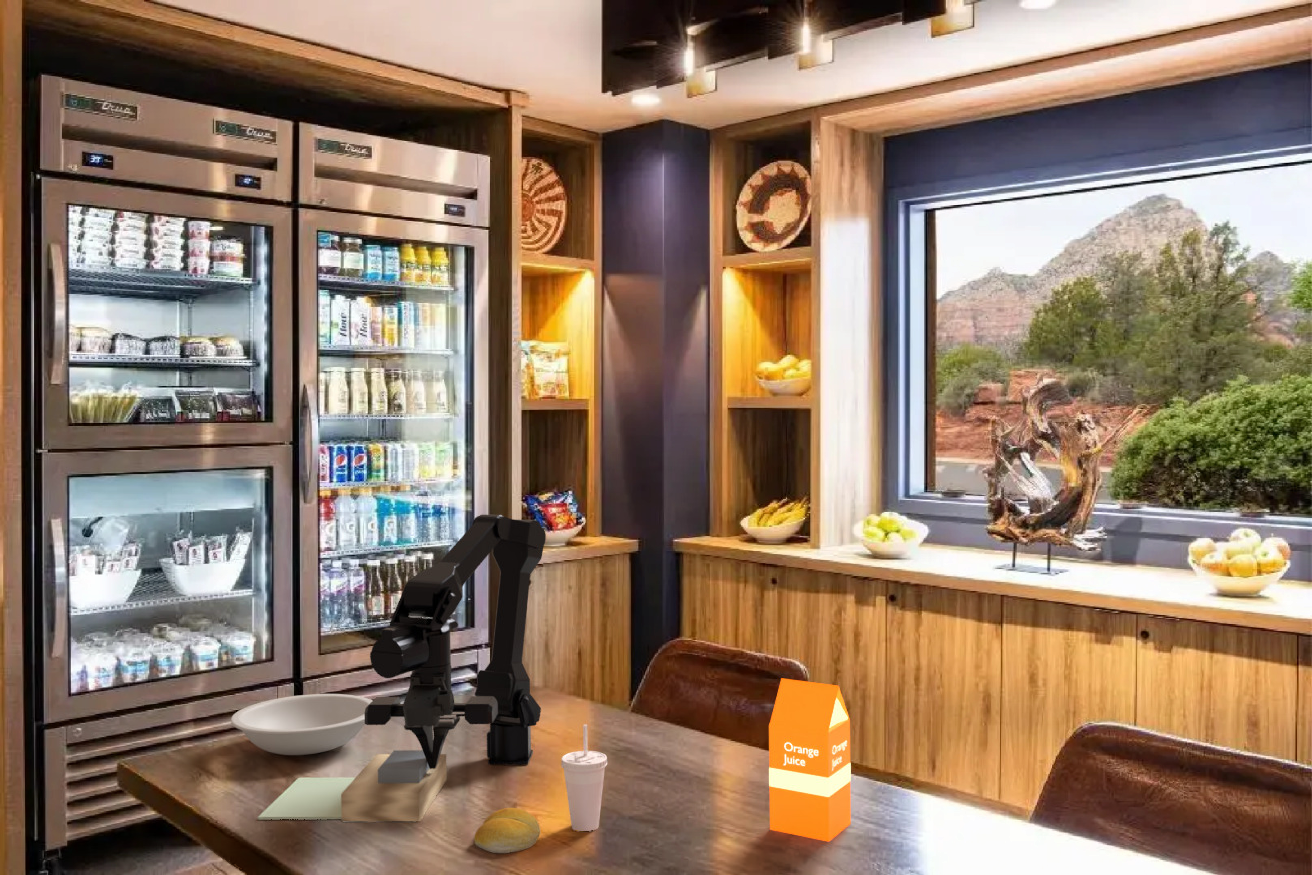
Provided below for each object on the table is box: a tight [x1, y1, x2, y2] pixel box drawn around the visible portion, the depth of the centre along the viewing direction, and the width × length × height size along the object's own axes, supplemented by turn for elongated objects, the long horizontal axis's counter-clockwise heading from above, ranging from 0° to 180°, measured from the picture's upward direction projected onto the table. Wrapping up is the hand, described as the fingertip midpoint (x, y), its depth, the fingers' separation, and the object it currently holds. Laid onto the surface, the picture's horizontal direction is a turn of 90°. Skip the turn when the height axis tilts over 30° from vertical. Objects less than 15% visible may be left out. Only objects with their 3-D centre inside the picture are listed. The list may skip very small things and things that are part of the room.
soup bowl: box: [230, 693, 374, 756], centre depth 195 cm, size 24×24×7 cm
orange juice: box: [768, 678, 852, 842], centre depth 157 cm, size 8×9×20 cm
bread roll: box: [473, 807, 541, 854], centre depth 153 cm, size 8×9×4 cm
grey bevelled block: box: [378, 749, 430, 783], centre depth 170 cm, size 6×9×2 cm, turn 178°
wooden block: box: [341, 753, 448, 823], centre depth 170 cm, size 11×18×4 cm, turn 178°
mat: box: [257, 776, 357, 821], centre depth 171 cm, size 12×17×1 cm
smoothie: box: [560, 724, 608, 832], centre depth 158 cm, size 6×6×14 cm
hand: (433, 767), depth 170 cm, fingers closed
